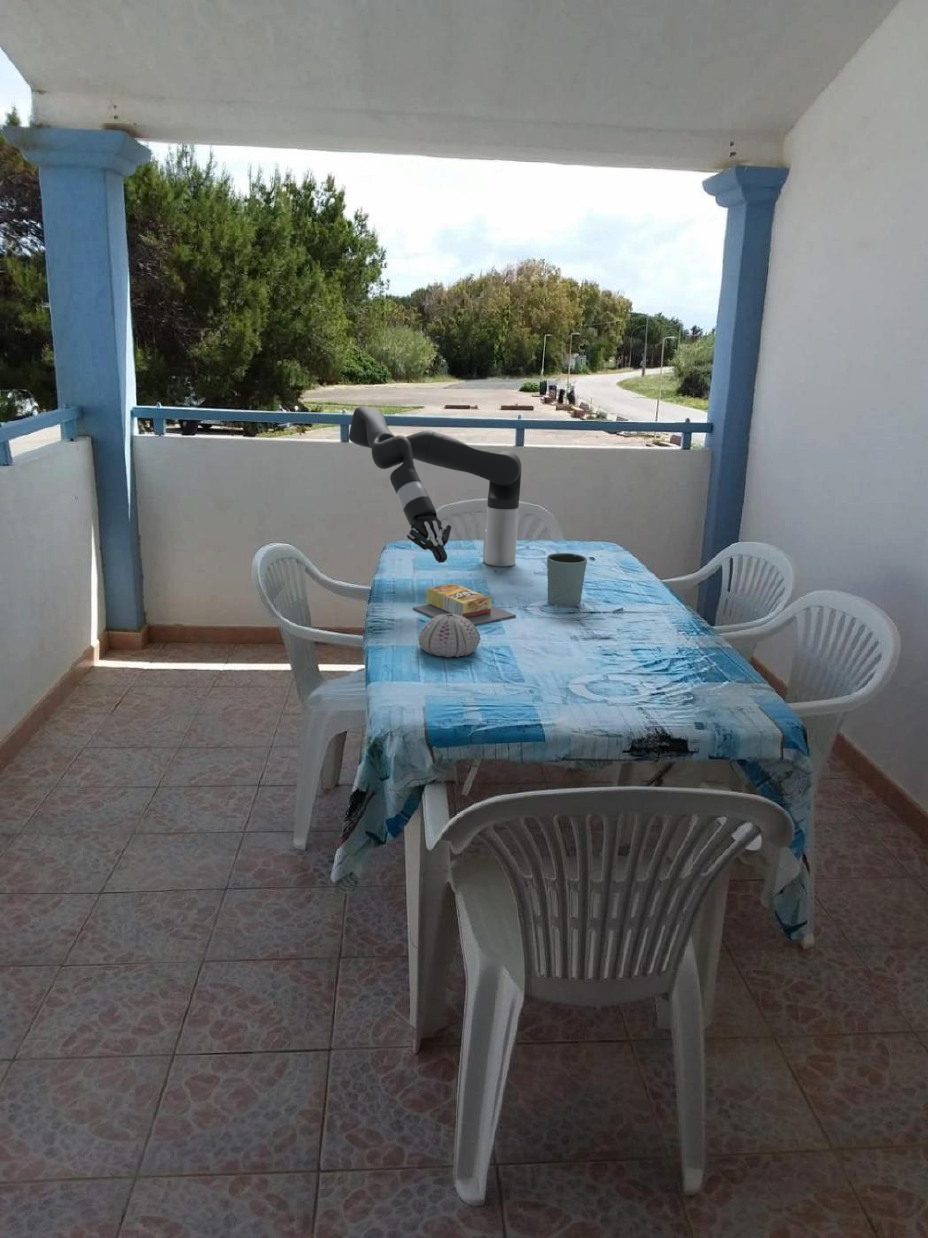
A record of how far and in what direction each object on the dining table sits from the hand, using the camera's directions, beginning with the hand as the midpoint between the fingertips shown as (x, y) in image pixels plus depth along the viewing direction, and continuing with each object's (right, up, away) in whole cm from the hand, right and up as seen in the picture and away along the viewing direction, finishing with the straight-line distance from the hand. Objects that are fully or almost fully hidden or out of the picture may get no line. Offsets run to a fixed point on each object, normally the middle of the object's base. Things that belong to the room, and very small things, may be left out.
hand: (443, 560), depth 215 cm
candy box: (-1, -8, +4) cm, 9 cm away
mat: (+5, -13, -3) cm, 14 cm away
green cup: (+31, -10, +9) cm, 34 cm away
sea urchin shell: (+2, -21, -28) cm, 35 cm away
